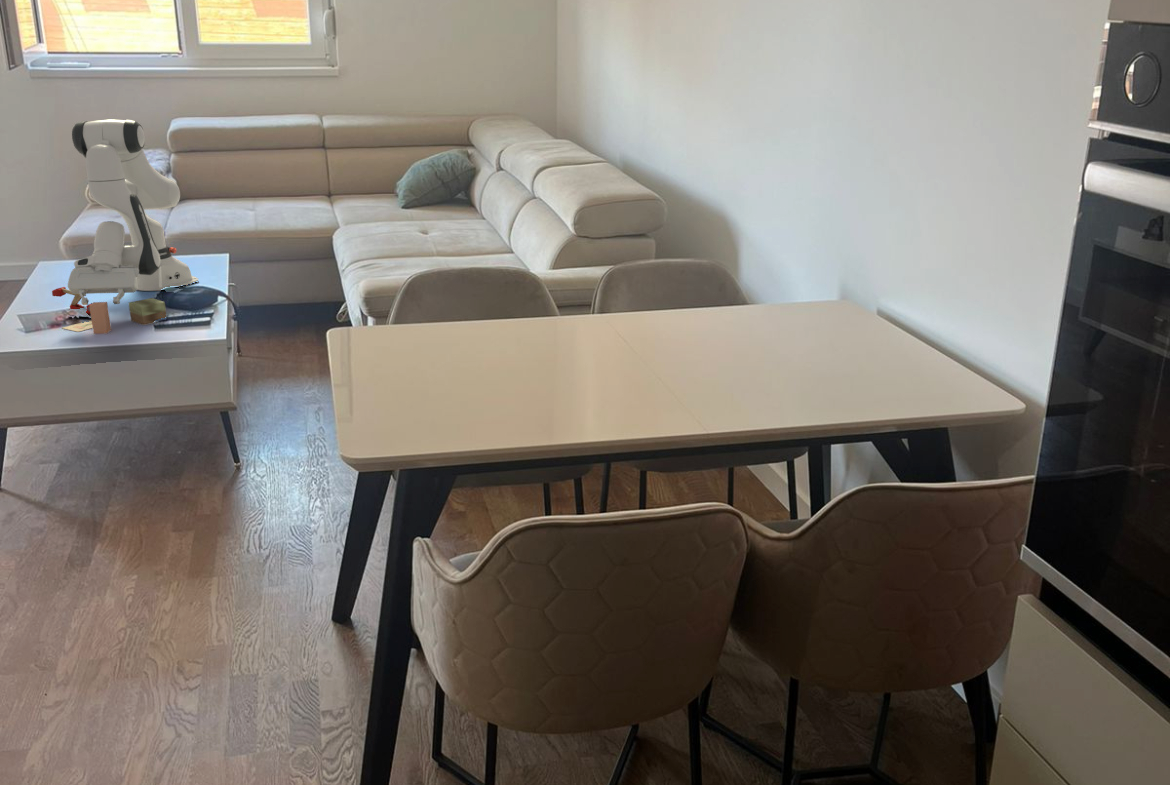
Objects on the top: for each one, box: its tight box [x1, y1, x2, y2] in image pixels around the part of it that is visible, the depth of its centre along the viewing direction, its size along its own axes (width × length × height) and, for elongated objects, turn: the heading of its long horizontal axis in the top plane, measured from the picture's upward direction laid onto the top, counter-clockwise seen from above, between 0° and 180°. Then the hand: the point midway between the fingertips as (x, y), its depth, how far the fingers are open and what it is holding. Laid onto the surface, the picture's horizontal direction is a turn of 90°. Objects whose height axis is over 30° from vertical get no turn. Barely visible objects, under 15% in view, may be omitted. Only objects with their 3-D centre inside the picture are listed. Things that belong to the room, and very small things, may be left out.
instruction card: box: [62, 320, 93, 333], centre depth 338 cm, size 10×8×1 cm
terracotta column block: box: [88, 301, 112, 335], centre depth 331 cm, size 4×4×9 cm
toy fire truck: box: [51, 286, 93, 317], centre depth 347 cm, size 3×14×10 cm, turn 84°
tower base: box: [128, 297, 168, 326], centre depth 344 cm, size 8×8×6 cm
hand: (100, 303), depth 332 cm, fingers open, 8 cm apart
